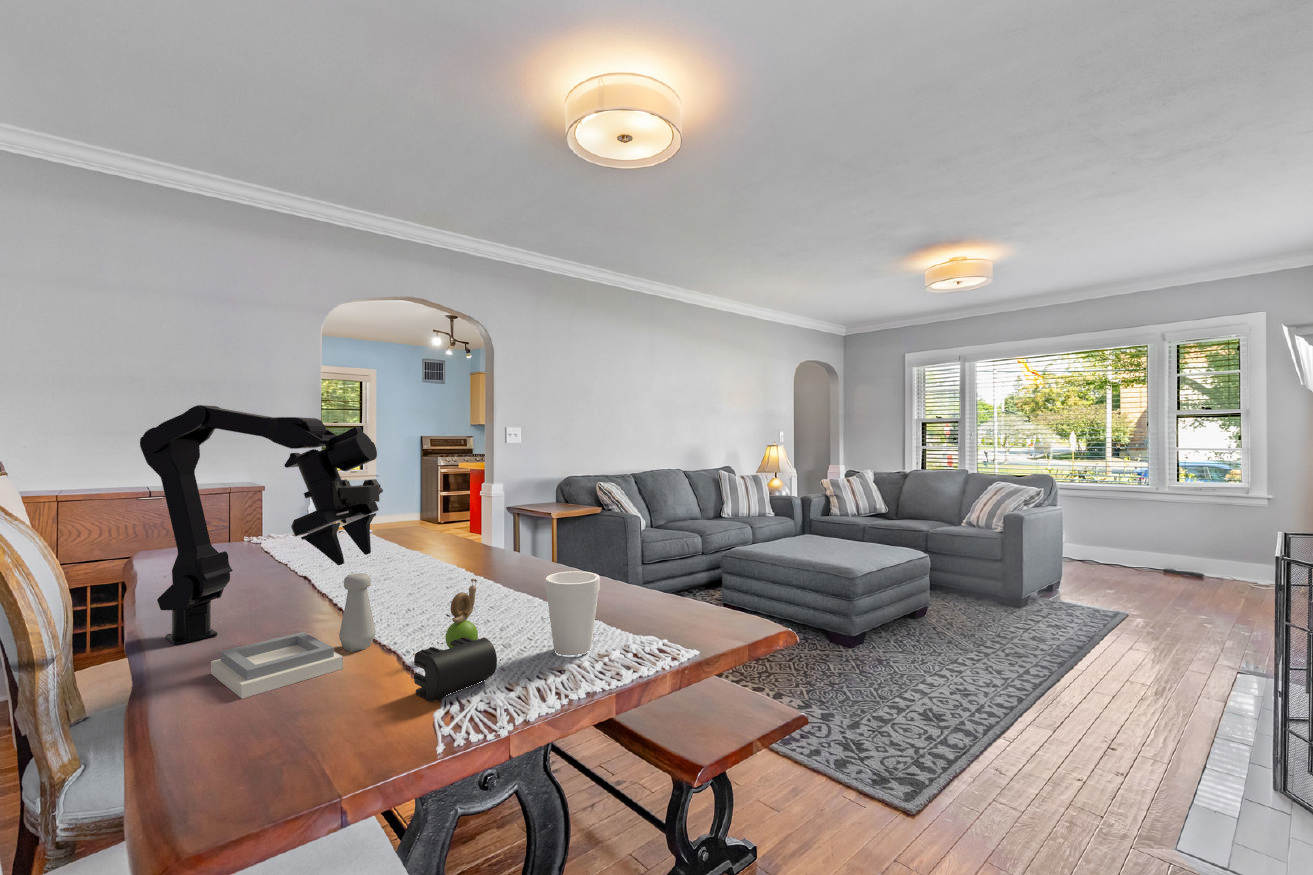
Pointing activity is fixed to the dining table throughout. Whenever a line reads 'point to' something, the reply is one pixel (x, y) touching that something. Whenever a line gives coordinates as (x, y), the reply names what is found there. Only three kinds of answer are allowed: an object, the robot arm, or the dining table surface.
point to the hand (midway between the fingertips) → (355, 559)
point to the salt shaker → (357, 614)
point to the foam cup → (572, 610)
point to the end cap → (454, 667)
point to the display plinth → (274, 663)
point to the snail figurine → (462, 617)
